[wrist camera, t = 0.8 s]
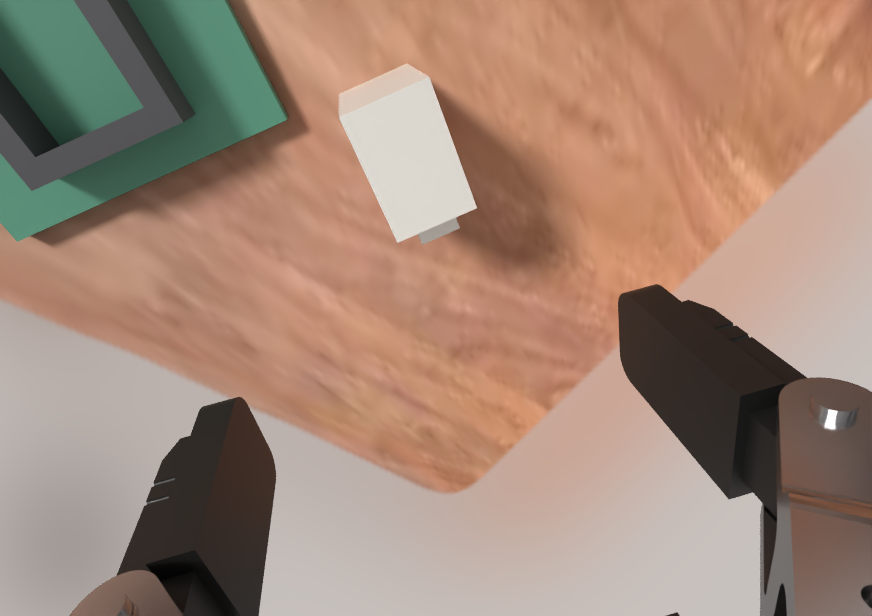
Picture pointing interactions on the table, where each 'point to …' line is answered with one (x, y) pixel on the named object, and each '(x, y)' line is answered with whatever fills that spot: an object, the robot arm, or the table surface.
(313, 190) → the table surface
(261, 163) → the table surface
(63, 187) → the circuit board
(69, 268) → the table surface
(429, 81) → the plug
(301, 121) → the table surface
